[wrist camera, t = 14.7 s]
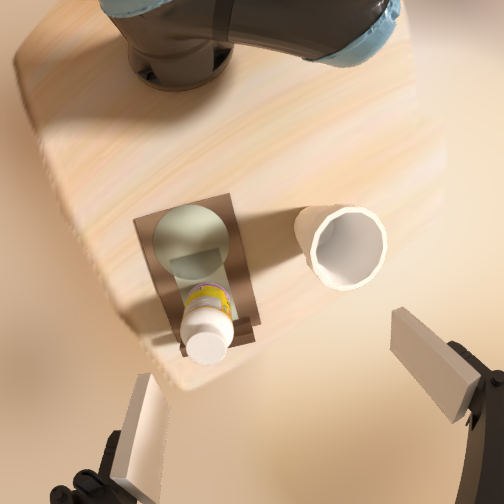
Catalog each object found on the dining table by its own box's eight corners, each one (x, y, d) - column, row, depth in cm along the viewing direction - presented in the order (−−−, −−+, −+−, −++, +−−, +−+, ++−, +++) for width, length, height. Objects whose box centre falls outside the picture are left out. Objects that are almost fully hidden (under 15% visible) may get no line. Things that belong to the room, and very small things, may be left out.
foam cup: (283, 258, 43) (308, 294, 30) (282, 195, 40) (310, 207, 28) (341, 254, 44) (383, 285, 31) (343, 195, 41) (390, 207, 29)
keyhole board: (135, 218, 38) (123, 225, 33) (229, 193, 39) (230, 196, 34) (178, 341, 45) (174, 360, 39) (260, 323, 45) (266, 341, 40)
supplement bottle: (226, 323, 44) (229, 375, 32) (184, 316, 43) (174, 367, 31) (234, 284, 42) (240, 329, 30) (190, 277, 41) (179, 320, 29)
